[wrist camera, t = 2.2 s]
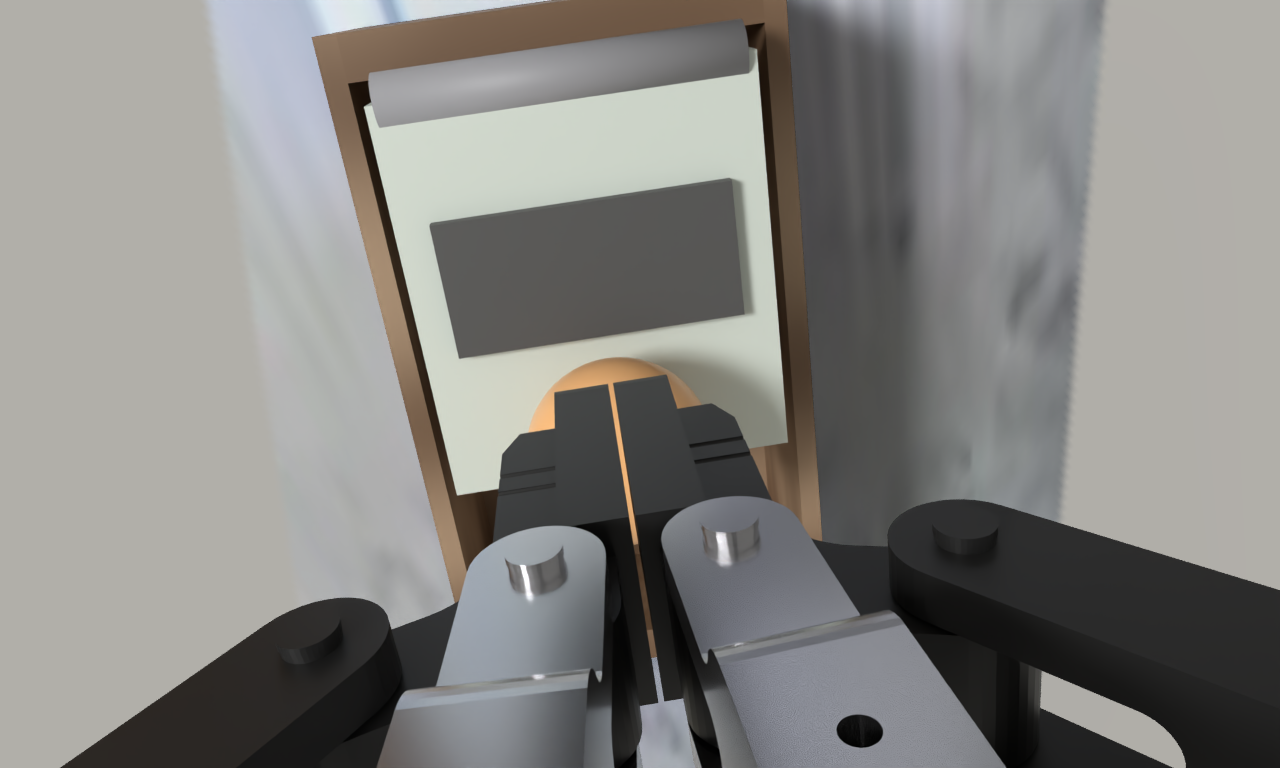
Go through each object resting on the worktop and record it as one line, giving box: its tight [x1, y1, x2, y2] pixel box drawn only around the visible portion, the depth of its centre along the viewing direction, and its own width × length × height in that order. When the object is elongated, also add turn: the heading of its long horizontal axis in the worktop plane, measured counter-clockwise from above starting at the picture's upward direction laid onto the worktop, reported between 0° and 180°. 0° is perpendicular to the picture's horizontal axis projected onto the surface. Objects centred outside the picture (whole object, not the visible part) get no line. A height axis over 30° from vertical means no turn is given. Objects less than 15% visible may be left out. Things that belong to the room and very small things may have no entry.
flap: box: [364, 19, 788, 495], centre depth 21 cm, size 10×8×1 cm
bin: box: [312, 0, 822, 658], centre depth 26 cm, size 18×10×6 cm, turn 8°
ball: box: [528, 357, 702, 545], centre depth 20 cm, size 4×4×4 cm
